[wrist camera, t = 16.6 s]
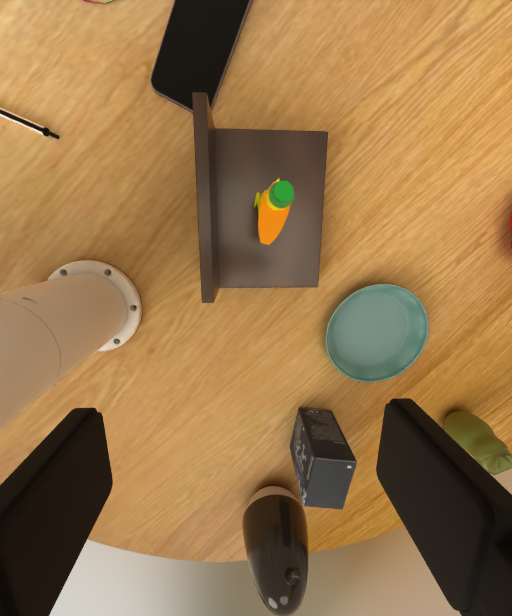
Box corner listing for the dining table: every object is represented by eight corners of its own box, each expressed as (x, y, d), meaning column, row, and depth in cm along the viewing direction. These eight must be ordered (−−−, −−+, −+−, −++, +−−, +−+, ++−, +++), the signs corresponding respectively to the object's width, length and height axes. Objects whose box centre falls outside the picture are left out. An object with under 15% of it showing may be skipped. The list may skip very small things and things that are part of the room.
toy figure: (272, 245, 34) (289, 251, 23) (244, 237, 34) (247, 239, 22) (287, 189, 33) (314, 164, 21) (258, 180, 32) (269, 150, 21)
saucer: (312, 294, 39) (317, 298, 37) (413, 269, 39) (425, 272, 37) (328, 383, 43) (334, 393, 41) (420, 361, 43) (432, 369, 41)
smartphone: (147, 86, 31) (196, -74, 28) (150, 91, 32) (198, -63, 29) (207, 119, 32) (262, -31, 29) (208, 122, 33) (261, -21, 30)
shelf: (212, 283, 38) (201, 302, 28) (207, 137, 34) (192, 91, 23) (312, 283, 39) (339, 301, 28) (320, 140, 34) (357, 97, 24)
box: (297, 406, 44) (315, 457, 34) (331, 409, 44) (359, 461, 34) (288, 447, 46) (302, 508, 36) (321, 450, 46) (344, 511, 36)
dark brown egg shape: (309, 481, 48) (340, 590, 33) (288, 525, 50) (308, 646, 36) (253, 468, 47) (259, 576, 32) (234, 515, 49) (232, 635, 34)
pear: (464, 399, 45) (524, 443, 36) (470, 424, 47) (531, 473, 37) (432, 412, 46) (483, 460, 36) (439, 437, 47) (491, 489, 37)
